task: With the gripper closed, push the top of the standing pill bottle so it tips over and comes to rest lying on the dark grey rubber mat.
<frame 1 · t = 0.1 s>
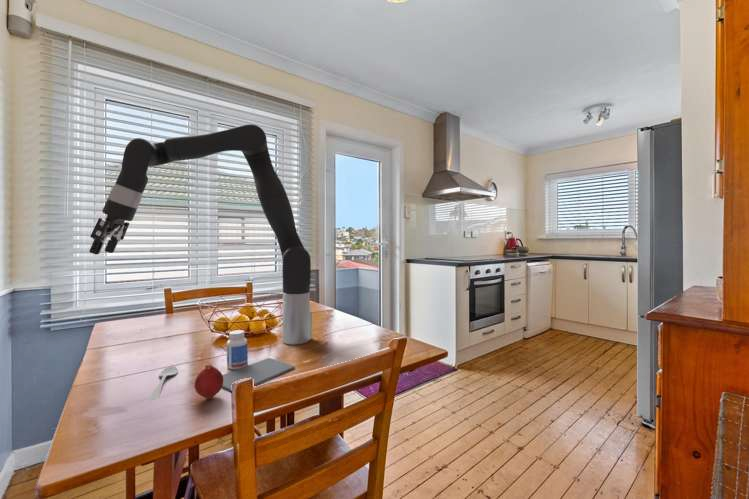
hand: (101, 252, 97), 31 cm above the table, tool tilted 20°, fingers open, 8 cm apart
onion: (209, 399, 74), on the table
mat: (254, 374, 86), on the table
spoon: (161, 388, 80), on the table
pill bottle: (237, 366, 92), on the table
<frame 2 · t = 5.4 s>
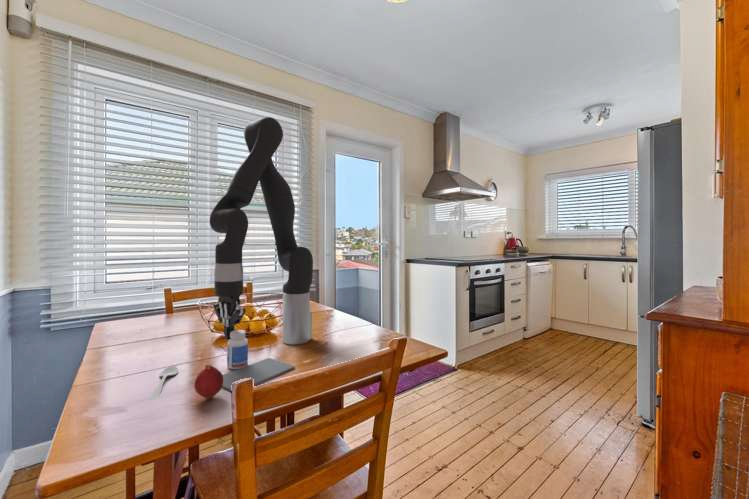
hand: (229, 338, 94), 7 cm above the table, tool pointing down, fingers closed
pill bottle: (237, 366, 92), on the table, touching gripper
everything else where it was.
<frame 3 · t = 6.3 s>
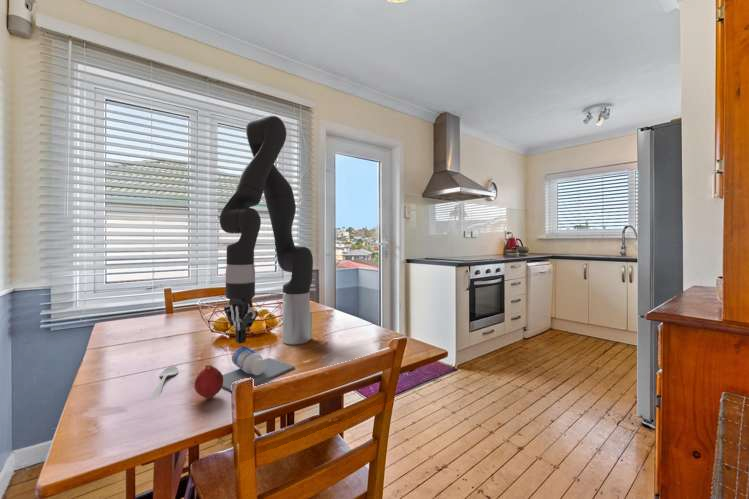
hand: (240, 342, 91), 7 cm above the table, tool pointing down, fingers closed
pill bottle: (240, 354, 90), point 4 cm above the table, touching mat
everything else where it was.
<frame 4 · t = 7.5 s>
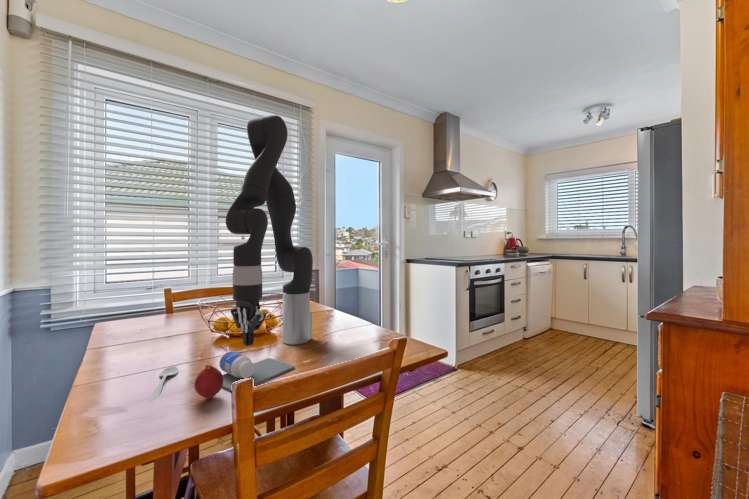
hand: (248, 344, 89), 7 cm above the table, tool pointing down, fingers closed
pill bottle: (227, 360, 88), point 3 cm above the table, touching mat
everything else where it was.
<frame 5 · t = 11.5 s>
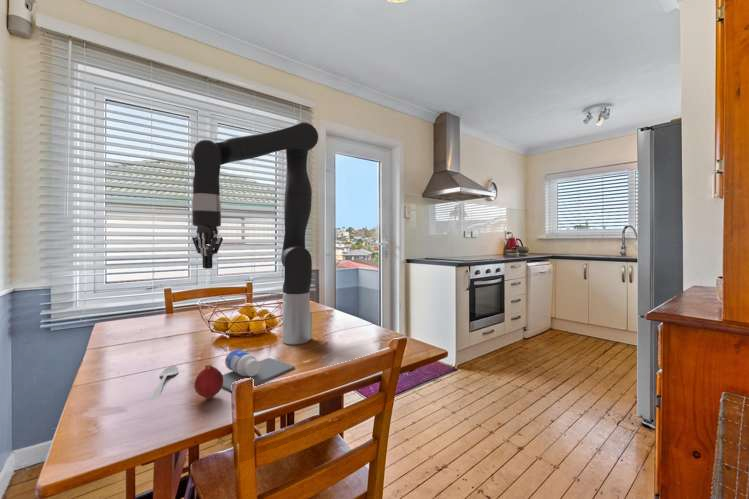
hand: (207, 268, 97), 27 cm above the table, tool pointing down, fingers closed
pill bottle: (233, 358, 89), point 3 cm above the table, touching mat
everything else where it was.
at the end: pill bottle tilted 91°; pill bottle touching mat; pill bottle inside the target area (5.3 cm from its centre), point 3.3 cm above the table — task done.
